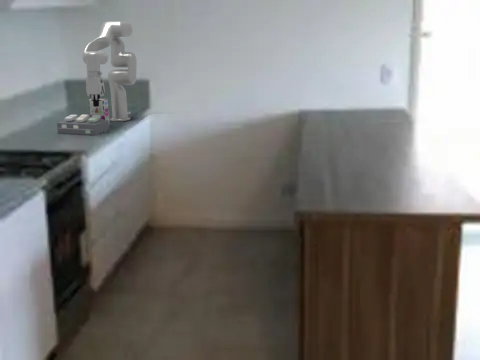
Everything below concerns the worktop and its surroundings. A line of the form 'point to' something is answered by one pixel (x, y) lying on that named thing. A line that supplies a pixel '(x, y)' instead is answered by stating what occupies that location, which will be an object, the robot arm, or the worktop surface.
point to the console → (83, 127)
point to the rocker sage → (94, 118)
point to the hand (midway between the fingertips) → (96, 106)
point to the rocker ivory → (82, 118)
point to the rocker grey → (71, 117)
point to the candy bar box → (100, 109)
